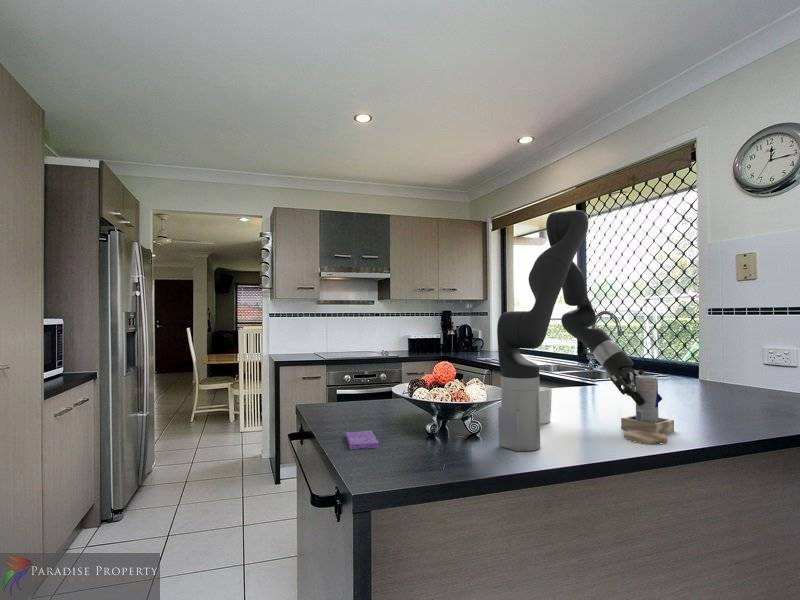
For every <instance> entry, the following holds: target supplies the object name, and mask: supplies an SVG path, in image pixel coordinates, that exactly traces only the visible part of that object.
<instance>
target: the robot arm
mask: <svg viewBox="0 0 800 600" xmlns="http://www.w3.org/2000/svg"><path fill="white" fill-rule="evenodd" d="M589 222H590V221H589V216H588V215H587V213H586V212H585V211H583V210H578V209H571V210H563V211H553V212H551V213H549V214H548V216H547V218H546V223H545V225H546V226H545V228H546V229H545V230H546V234H547V235H546V236H547V241H548V243H549V246H550V247H548V248H547V249H545V250H544V251H543V252H542V253H541V254H540V255H539V256H537V257H536V259H535V261H534V263H533V265H532V268H531V269H530V271H529V274H528V285H529V288H530V290H531V293H532V295H533V296H534V299H535V302H534V304H533V306H532V308H531V309H530V310H527V311H526V310H525V311H524V310H523V311H521V310H520V311H519V310H518V311H517V310H516V311H514V310H513V311H511V310H510V311H505V312H503V313H501V315H500V316H499V318H498V321H497V326H496V327H497V330H496V334H497V335H496V336H497V338H496V339H497V349H498V350H497V351H498V365H499V367H500V393H501V395H500V399H501V402H500V403H501V405H500V406H498V446H499V447H502V448H505V449H509V450H511V451H514V452H531V451H537V450H539V449H540V448H541V424H540V393H539V387H540V366H539V365H538V364H537V363H535V362H533V361H530V360H529V359H527V358H526V357H525V356H523V355H522V353H521V350H520V349H526V350H533V349H534V350H535V349H538V348H540V347H541V346H542V345H543V343H544V341H545V339H546V336H547V334H548V330H549V326H550V322H551V320H552V319H551V318H552V315H553V311H554V308H555V304H556V303H557V300H558V297H559V296H560V293H561V291H562V296H563V301H564V303H565V304H566V305H567V306H570V307H577V308H575V309H573V310H570V311H567V312H565V313H564V314H563V315H562V316H561V325H562V327H563V329H564V330H565V332H567V333H568V334H569V335H571V336H572V337H574V338H575V339H576V340H578V341H579V342H581V343H583V345H585V346H586V347H587V348H588V350H589V351H590V352H591V353H592V354H593V356H594V357H595V359H596V361H598V363H599V364H600V365H601V366H602V368H603V369H604V370H605V371H606V373H607V374H609V376H610V377H609V380H610V381H611V382H612V383H613V385H614V386H615V387H616V388H617V390H618V391H619V392H620V394H622V395H623V396H625V395H626V396H628V397H630V398H631V399H632V400H633V401H634V403H635V405H636V404H637V405H638V406H642V405H643V404H644V403H645V400H644V399H643V398H642V397H641V395H640V394H639V393H638V392H637V391H635V379H636V377H635V376H648V374H647V373H645V371H644V370H643V369H639V370H638V371H636V370H635V369H634V361H633V360H632V359H631V358H630V357H629V355H627V353H626V352H625V351H624V350H623V349H622V348H621V346H620V345H618V344H617V343H616V342H615V341H614V340H613V339H612V338H611V336H609V335H608V333H606V331H605V330H604V329H602V328H600V327H593V328H591V327H592V326H594V325H595V323H596V320H597V315H596V312H595V309H594V308H593V306H592V304H591V301H590V299H589V296H588V290H587V284H586V283H587V282H586V277H585V275H584V273H583V272H582V270H581V269H580V268H579V266H578V265H577V264H576V262H574V259H575V256H576V255H577V253H578V251H579V249H580V247H581V246H582V244H583V242H584V240H585V239H586V236H587V233H588V229H589ZM661 401H663V397H662V396H661V395H660V393H658V404H659V403H660V402H661Z"/></svg>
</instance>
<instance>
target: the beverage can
mask: <svg viewBox="0 0 800 600" xmlns="http://www.w3.org/2000/svg"><path fill="white" fill-rule="evenodd" d="M635 377H636V379H635V391H637V392H638V393H639V394H640V395H641V397H642V398H643V399H644V400H645V403H644V404H643V405H642V406H638V405H637V404H636V403H635V415H636V420H637V421H642V422H648V423H653V424H654V423H659V418H660V417H659V403H658V394H659V384H658V383H659V382H658V376H654V375H647V376H635ZM658 417H659V418H658Z"/></svg>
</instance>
